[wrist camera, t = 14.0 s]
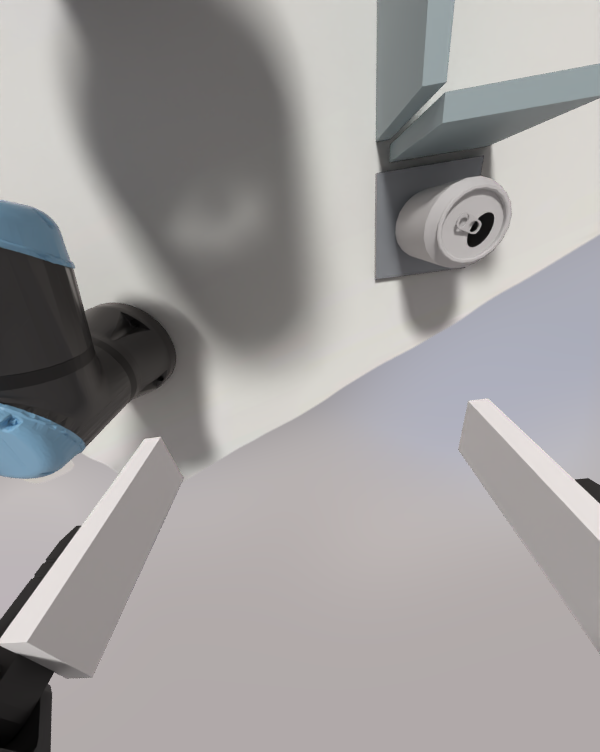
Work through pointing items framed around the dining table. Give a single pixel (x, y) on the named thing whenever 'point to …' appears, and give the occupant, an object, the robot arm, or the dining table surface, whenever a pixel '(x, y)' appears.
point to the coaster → (390, 201)
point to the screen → (460, 107)
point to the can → (454, 222)
